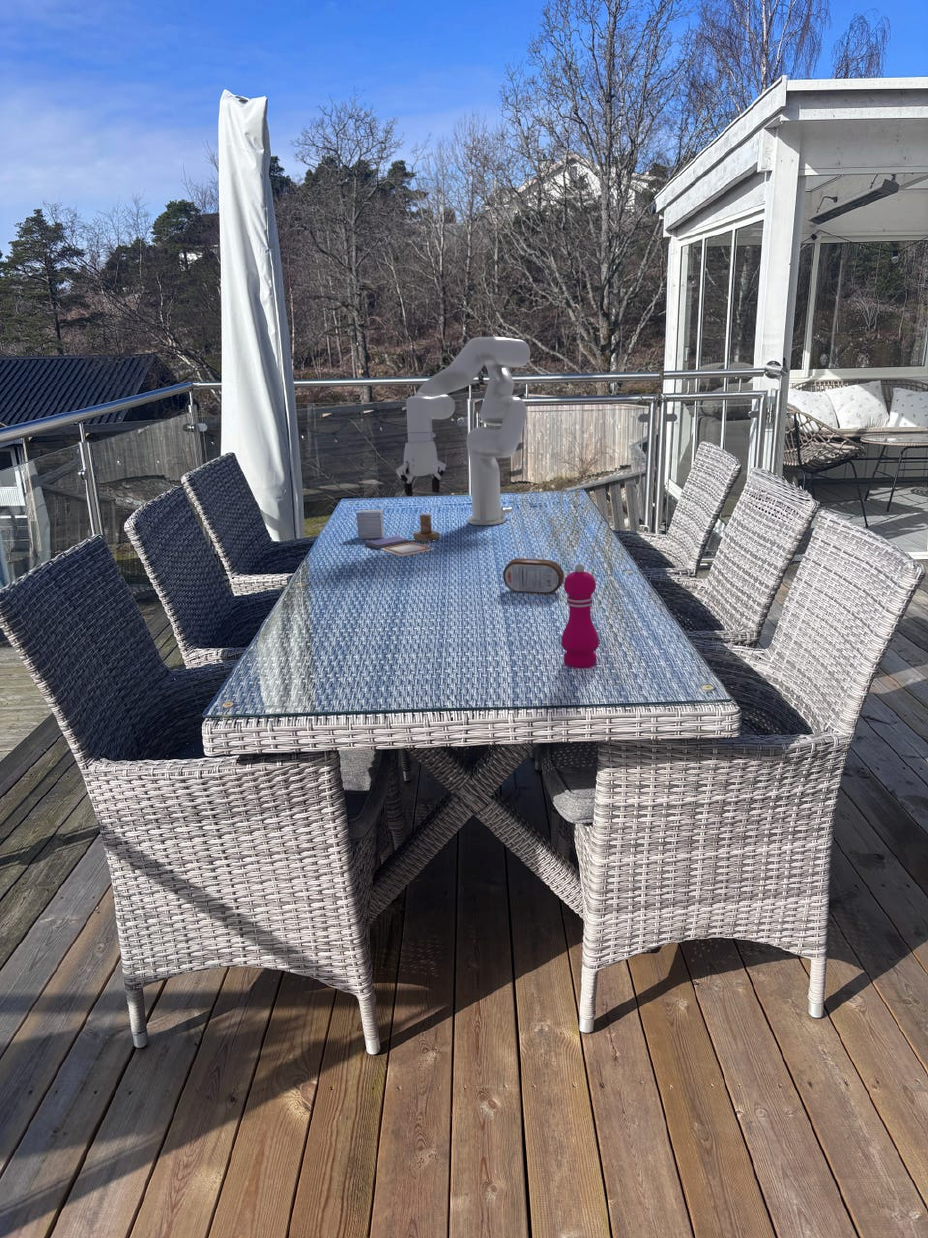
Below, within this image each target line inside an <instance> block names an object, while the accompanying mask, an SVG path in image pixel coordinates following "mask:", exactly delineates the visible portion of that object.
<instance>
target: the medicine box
mask: <svg viewBox="0 0 928 1238" xmlns="http://www.w3.org/2000/svg"><path fill="white" fill-rule="evenodd" d="M355 514H356V525H357V526H356V528H357V537H358V539H359V540H360V539H361V540H368V539H369V540H371V539H384V537H385V536H386V535H385V533H386V531H385V525H384V523H385V522H384V510H383V509H360V510H358V511H357V512H356V513H355Z"/></svg>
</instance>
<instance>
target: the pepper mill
mask: <svg viewBox="0 0 928 1238" xmlns="http://www.w3.org/2000/svg"><path fill="white" fill-rule="evenodd" d="M574 569H575V570H574V571H573V572H571V573H569V574H568V575H566V577H565V578H564V580H563V588H564V592H566V594H567V596H566V605H567V606H569V607H568V608H569V617H568V620H567V623H566V624H565V628H564V629H563V632H562V636H561V640H560V641H561V646H562V649H564V651H565V653H564V654H563V664H564V663H565V664H564V665H565V666H566V665H567V666H566V667H568V666H569V667H568V668H571V667H573V668H572V669H578V668H583V669H588V668H592V667H594V666H595V665H596V664H597V654H596V650H597V649H598V648H599V645H600V638H599V634H598V632H597V630H596V628H595V626H594V623H593V620H592V616H591V609H592V608H591V607H592V605H593V604H594V601H593V600H594V596H593V593H595V591H596V586H597V584H596V583H597V582H596V579H595V577H594V576H593V575H592V573H589V572H588V571H585V566H584V564H582V563H577V564H576V565H575V568H574Z"/></svg>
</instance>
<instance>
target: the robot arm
mask: <svg viewBox="0 0 928 1238" xmlns="http://www.w3.org/2000/svg"><path fill="white" fill-rule="evenodd" d="M530 349H531V347H530V346H529V345H528V343H527V342H526V341H524V340H522V339H516V338H509V337H503V336H478V337H473V338H471V339H470V340H468V342H467V343H466V344H465V346H463V347H462V349H461V351H460V352H459V353H458V354H457V356H456V357H455V358H454V359H453V361H452V362H451V364H450V365H448V367H446V368H444V369H442V370H440V372H437V373H436V374H435V375H433V376H431V377H430V378H429V379H427V380H426V381H425V382H424V383H423V384H422V385H421V386H420V388H419V389H417V391H416V392H415V394H414V395H412V396H409V397H407V398H406V405H405V406H406V423H407V424H406V426H407V427H406V428H407V442H406V443H404V444H405V446H404V452H403V464H402V465H400V466H399V467H398V468H396V469H395V471H396V474H397V475H398V478H399V479H400V480H401V481H402V482H403V484H404V493H405V496H406V497H407V496H408V497H412V496H413V483H412V480H413V478H414V477H423V476H430V475H431V477H432V479H431V491H432V493H436V494H437V493H438V494H439V493H440V490H441V483H440V480H442V477H443V475H444V474H445V470H446V467H447V464H446V463H444V462H442V461H440V460H438V452H437V451H438V450H437V445H436V443H435V441H433V440H434V438H435V437H436V436H437V435H436V434H437V433H435V432H434V431H433V420H446V419H449V418H451V417H452V415H454V413H455V410H456V402H455V400H454V399H453V398H452V396H450V395H448V394H450V393H453V392H456V391H459V390H462V389H465V388H466V387H468V386H470V385H471V384H472V383H473V381H474V379H476V376H477V375H478V374H479V373H480V372H481V370H482V369H483V367H486V370H487V373H488V374H487V375H488V384H487V389H486V391H485V394H484V397H483V401H482V404H481V408H480V410H479V411H480V412H479V418H480V420H481V422H482V423H483V424H485V425H489V426H478V427H474V428H472V429H471V430H469V432H468V434H467V435H466V449H467V452H468V457H469V463H470V477H471V478H470V481H471V505H472V516H470V517H469V518H468V521H467V522H468V523H469V524H471V525H473V526H494V525H495V526H496V525H499V524H503V523H505V522H506V517H505V514H511V513H512V514H513V507H512V506H510V507H502V506H501V481H500V479H501V478H500V477H501V476H500V475H501V473H500V466H499V463H498V460H497V459H496V458H501V459H502V458H503V459H504V458H505V459H507V458H510V457H511V456H513V455H514V454H515V452H516V451H517V448H518V446H519V442H520V439H521V435H522V433H523V430H524V428H525V427H524V426H525V423H526V419H527V406H526V404H525V402H524V400H523V399H522V398H520V397H518V396H513V392H514V385H515V383H514V382H515V381H514V379H513V376H512V374H511V372H510V371H509V368H522V367H524V366H526V365H527V364H528V362H529V361H530V358H531V350H530Z"/></svg>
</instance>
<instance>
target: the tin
mask: <svg viewBox="0 0 928 1238" xmlns="http://www.w3.org/2000/svg"><path fill="white" fill-rule="evenodd" d="M502 578H503V583H504V584H505V586H506V587H507V588H508V589H509V590H510V591H512V592H515V593H521V594H522V593H523V594H534V595H535V594H537V595H551V594H554V593H555V592H557V591H558V590H559V589H560V588H561V587H562V586H563V584H564V581H565V574H564V572H563V569H562V567H561V566H560V564H558V563H556V562H555V561H553V560H550V559H536V558H520V557H519V558H514V559H512V560H511V561H509V562H508V563H507V564H506V566H505V568H504V569H503V572H502Z"/></svg>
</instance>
